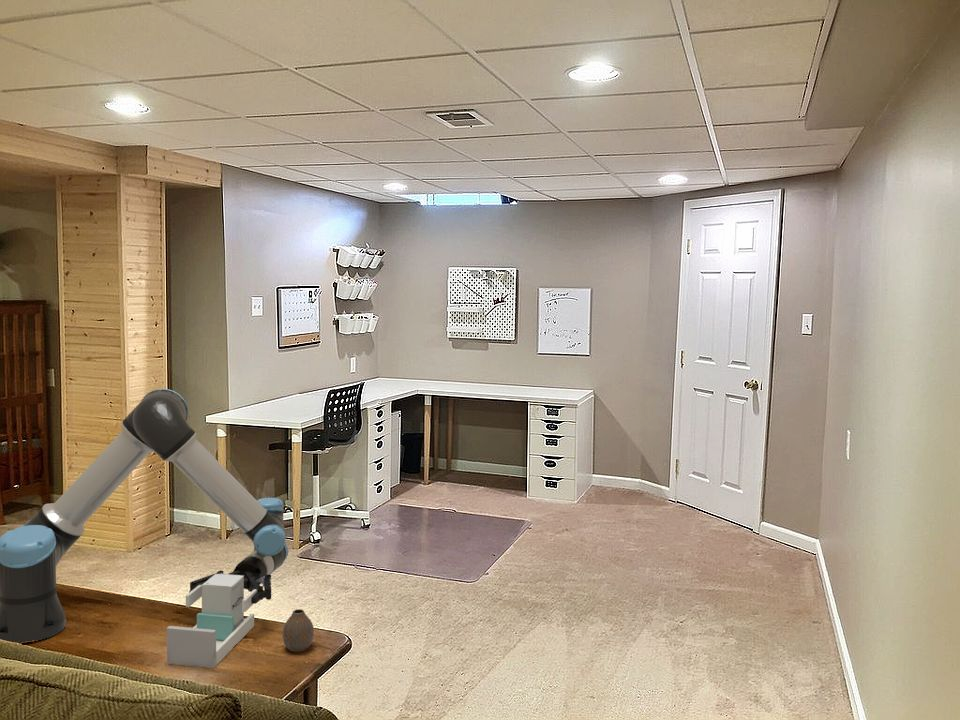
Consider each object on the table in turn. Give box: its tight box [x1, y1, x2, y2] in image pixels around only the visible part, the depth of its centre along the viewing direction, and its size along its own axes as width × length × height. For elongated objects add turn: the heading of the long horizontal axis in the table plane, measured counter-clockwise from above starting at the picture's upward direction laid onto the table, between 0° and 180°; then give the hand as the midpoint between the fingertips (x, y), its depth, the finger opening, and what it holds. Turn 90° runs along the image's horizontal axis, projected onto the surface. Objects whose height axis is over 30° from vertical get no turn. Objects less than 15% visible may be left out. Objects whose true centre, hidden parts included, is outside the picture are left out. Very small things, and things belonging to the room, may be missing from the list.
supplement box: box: [201, 573, 245, 630], centre depth 185 cm, size 7×7×13 cm
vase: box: [282, 608, 315, 653], centre depth 179 cm, size 7×7×9 cm
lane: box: [166, 613, 255, 669], centre depth 180 cm, size 21×11×8 cm, turn 173°
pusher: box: [196, 612, 234, 640], centre depth 181 cm, size 1×8×6 cm, turn 83°
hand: (215, 603), depth 180 cm, fingers open, 13 cm apart
